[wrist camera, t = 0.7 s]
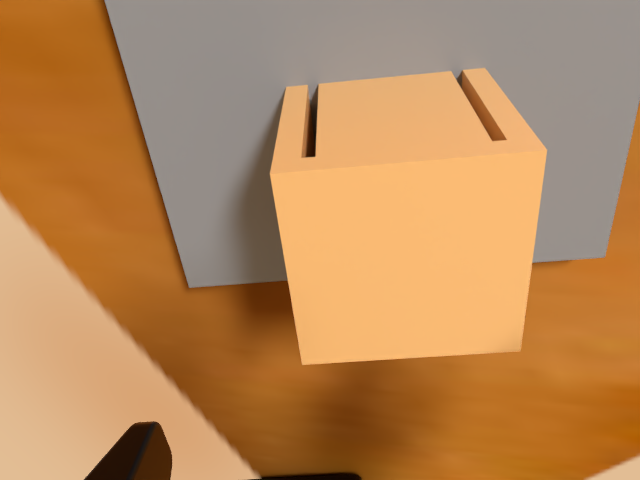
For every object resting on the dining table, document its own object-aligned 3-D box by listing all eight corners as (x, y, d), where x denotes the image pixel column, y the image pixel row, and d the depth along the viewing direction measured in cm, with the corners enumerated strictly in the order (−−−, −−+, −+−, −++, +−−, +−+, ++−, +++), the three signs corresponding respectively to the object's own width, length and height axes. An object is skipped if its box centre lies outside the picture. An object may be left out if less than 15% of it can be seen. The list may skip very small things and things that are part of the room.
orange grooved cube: (474, 234, 18) (520, 351, 14) (308, 247, 19) (302, 364, 14) (484, 67, 15) (546, 150, 11) (286, 86, 16) (269, 173, 11)
